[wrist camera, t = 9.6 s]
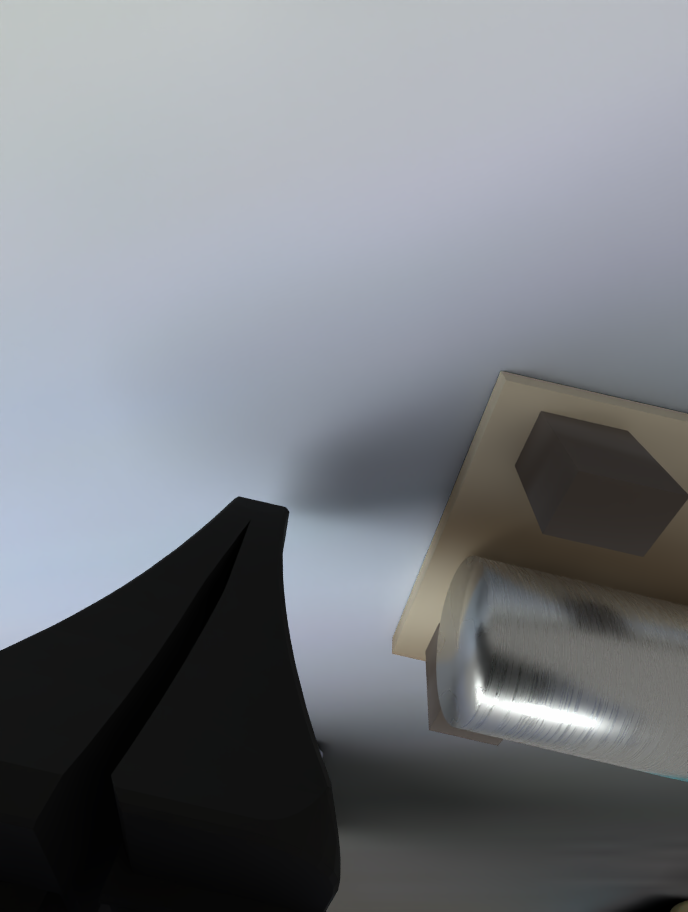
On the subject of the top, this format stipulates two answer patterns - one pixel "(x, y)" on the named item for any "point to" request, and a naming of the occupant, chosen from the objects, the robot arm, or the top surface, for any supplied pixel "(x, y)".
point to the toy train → (680, 907)
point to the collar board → (558, 505)
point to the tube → (565, 666)
